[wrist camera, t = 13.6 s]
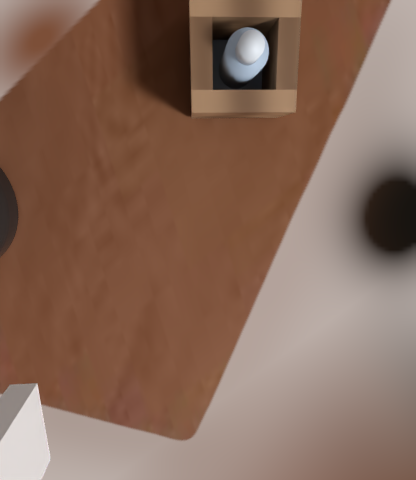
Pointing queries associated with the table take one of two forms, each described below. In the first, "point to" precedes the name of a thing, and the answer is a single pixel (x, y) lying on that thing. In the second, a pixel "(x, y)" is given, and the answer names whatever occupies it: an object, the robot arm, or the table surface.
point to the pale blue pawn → (239, 60)
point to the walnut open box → (273, 73)
